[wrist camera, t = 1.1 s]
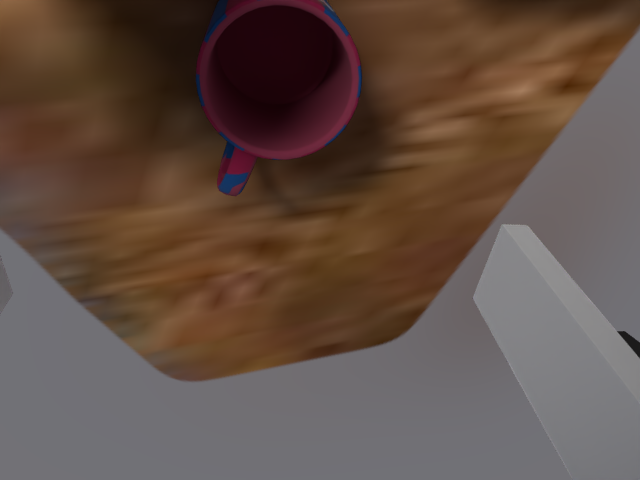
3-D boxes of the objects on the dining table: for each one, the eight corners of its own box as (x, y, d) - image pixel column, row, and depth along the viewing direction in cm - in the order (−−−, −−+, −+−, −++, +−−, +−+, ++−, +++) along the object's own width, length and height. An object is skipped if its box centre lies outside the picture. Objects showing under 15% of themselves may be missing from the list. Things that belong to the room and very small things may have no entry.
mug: (363, 21, 24) (394, 58, 19) (267, 170, 29) (270, 235, 23) (249, -62, 22) (246, -48, 16) (162, 116, 26) (137, 174, 21)
